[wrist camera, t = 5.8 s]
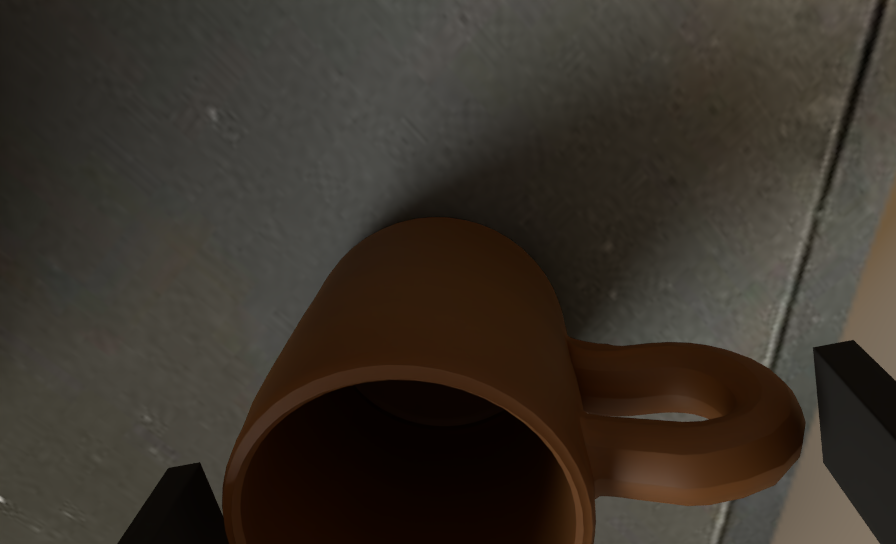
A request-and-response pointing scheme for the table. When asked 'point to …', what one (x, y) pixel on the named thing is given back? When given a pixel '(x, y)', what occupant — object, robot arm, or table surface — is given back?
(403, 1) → the table surface
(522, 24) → the table surface
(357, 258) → the mug
